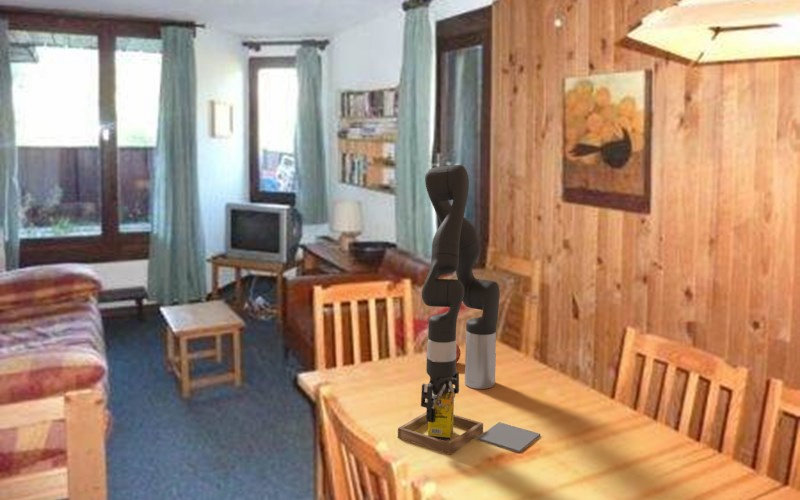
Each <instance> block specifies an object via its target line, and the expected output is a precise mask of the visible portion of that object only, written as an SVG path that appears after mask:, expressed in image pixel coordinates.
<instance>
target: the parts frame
mask: <svg viewBox="0 0 800 500" xmlns="http://www.w3.org/2000/svg"><path fill="white" fill-rule="evenodd" d="M426 415H427V414H426V411H425V412H424V413H422V414H420V415H418V416H417V417H415V418H413V419H411V420H410V421H408V422H406V423H404V424H403V425H401V426H399V427H397V438H398V439H401V440H405V441H408V442H410V443H411V442H412V443H414V444H417V445H420V446H423V447H426V448H430V449H432V450H435V451H438V452H441V453H444V454H446V455H447V454H448V455H452V454H454V453H455V452H457V451H458V450H460V449H461V448H463V447H464V446H466V445H467V444H468V443H470V442H471V441H472V440H474V439H475V438H477V437H479V436H480V435H481V434H483V433H484V422H481V421H477V420H474V419H471V418H467V417H464V416H459V415H456V414H454V415H453V427H454V426H455V427H458V428H461V429H465V430H466V431H465V432H463V433H461V434H460V435H459V436H458V437H456V438H455V439H453V440H450V442H449V441H447V440H441V439H437V438H434V437H430V436H428V434H427V435H426V434H424V433H422V432H421V433H420V432H417V431H415V430H418V429H420V428H421V427H422V426H424V425H426V424H428V421H427V419H426Z"/></svg>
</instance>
